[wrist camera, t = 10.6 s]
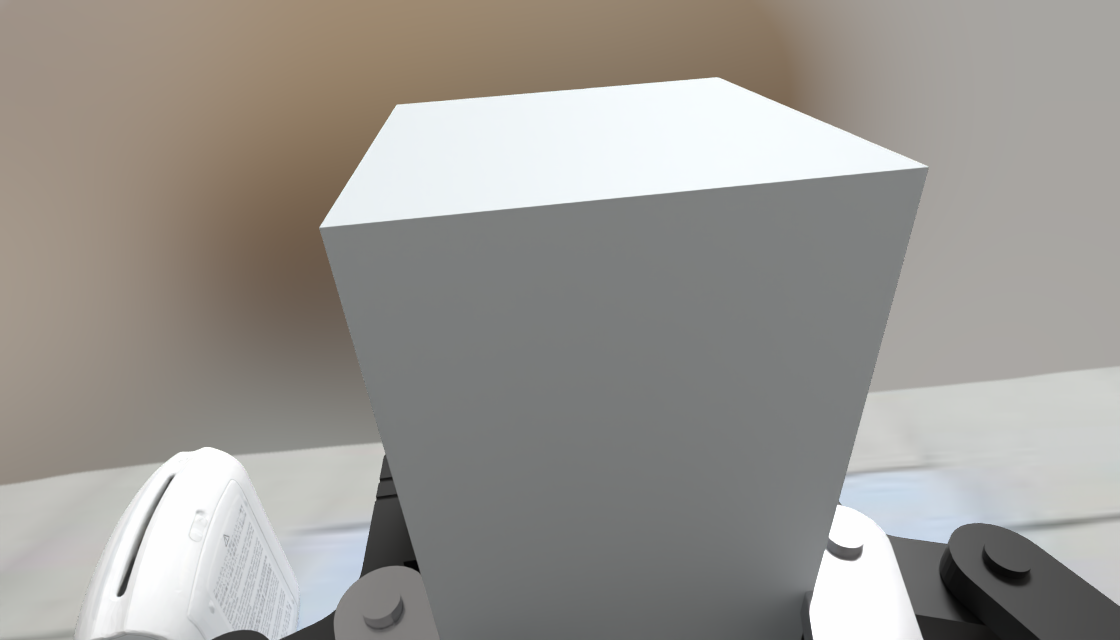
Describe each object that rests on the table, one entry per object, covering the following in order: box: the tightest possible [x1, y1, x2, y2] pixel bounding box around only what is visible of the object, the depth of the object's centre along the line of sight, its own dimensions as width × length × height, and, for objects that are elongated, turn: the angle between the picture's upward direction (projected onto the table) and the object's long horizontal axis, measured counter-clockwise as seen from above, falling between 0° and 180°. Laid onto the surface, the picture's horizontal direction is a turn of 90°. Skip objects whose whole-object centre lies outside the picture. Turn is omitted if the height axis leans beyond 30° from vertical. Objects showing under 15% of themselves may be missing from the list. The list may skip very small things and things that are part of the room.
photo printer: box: [73, 447, 300, 640], centre depth 26 cm, size 10×4×12 cm, turn 13°
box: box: [320, 77, 929, 640], centre depth 10 cm, size 5×5×16 cm
